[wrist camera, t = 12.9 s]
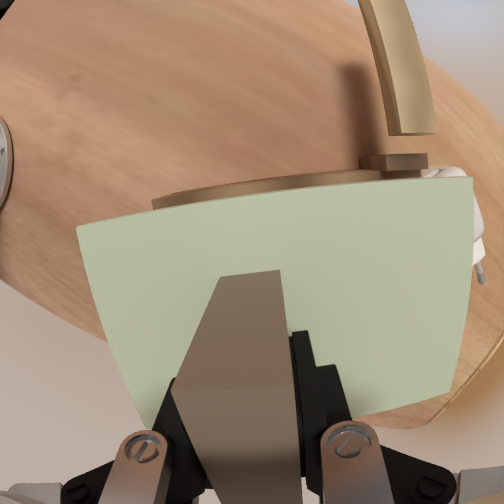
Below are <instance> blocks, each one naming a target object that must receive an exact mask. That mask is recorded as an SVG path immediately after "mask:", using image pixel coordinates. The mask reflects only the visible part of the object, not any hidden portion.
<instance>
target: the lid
mask: <svg viewBox="0 0 504 504" xmlns="http://www.w3.org/2000/svg"><path fill="white" fill-rule="evenodd" d="M76 231H77V236H78V241H79V245H80V249H81V254H82V258H83V262H84V266H85V270H86V273H87V277H88V281H89V284H90V288H91V291H92V295H93V298H94V301H95V305H96V308H97V311H98V314H99V317H100V320H101V323H102V326H103V329H104V332H105V334H106V337H107V340H108V343H109V345H110V348H111V351H112V353H113V356H114V359H115V361H116V364H117V366H118V368H119V371H120V373H121V376H122V378H123V380H124V382H125V385H126V387H127V389H128V392H129V394H130V396H131V398H132V401H133V403H134V405H135V407H136V409H137V411H138V413H139V415H140V417H141V419H142V421H143V423H144V425H145V427H146V428H148V429H152V427H153V425H154V422H155V420H156V417H157V414H158V412H159V409H160V407H161V404H162V402H163V399H164V397H165V394H166V392H167V389H168V387H169V384H170V382H171V380H172V378H174V377H176V379H175V381H174V383H173V386H172V388H171V390H170V391H171V394H172V396H173V399H174V401H175V404H176V407H177V409H178V412H179V414H180V417H181V419H182V421H183V424H184V426H185V429H186V431H187V433H188V436H189V438H190V440H191V443H192V445H193V447H194V449H195V451H196V454H197V456H198V458H199V460H200V462H201V464H202V466H203V468H204V471H205V473H206V475H207V477H208V479H209V481H210V483H211V485H212V487H213V489H214V490H215V492H216V494H217V496H218V498H219V500H220V502H221V504H303V501H302V484H301V469H300V454H299V441H298V428H297V416H296V404H295V393H294V382H293V373H292V364H291V355H290V347H289V338H288V337H289V336H292V332H295V331H303V330H308V332H309V337H310V341H311V346H312V350H313V354H314V359H315V363H316V367H317V366H324V365H330V364H335V365H336V367H337V370H338V373H339V377H340V380H341V383H342V387H343V390H344V393H345V397H346V400H347V404H348V407H349V410H350V414H351V417H352V418H355V417H360V416H364V415H369V414H373V413H378V412H382V411H386V410H390V409H394V408H398V407H402V406H405V405H409V404H412V403H416V402H419V401H422V400H426V399H429V398H432V397H435V396H438V395H441V394H444V393H447V392H449V391H450V388H451V384H452V381H453V377H454V373H455V369H456V365H457V361H458V357H459V352H460V348H461V343H462V338H463V333H464V327H465V322H466V316H467V309H468V302H469V294H470V286H471V276H472V263H473V246H474V192H473V177H465V176H452V177H428V178H409V179H393V180H379V181H367V182H355V183H344V184H333V185H324V186H314V187H305V188H296V189H288V190H280V191H272V192H264V193H256V194H249V195H242V196H235V197H228V198H222V199H215V200H209V201H202V202H196V203H190V204H184V205H178V206H173V207H167V208H161V209H156V210H150V211H145V212H140V213H135V214H130V215H125V216H120V217H115V218H110V219H105V220H100V221H96V222H91V223H87V224H84V225H81V226H78V227H76Z"/></svg>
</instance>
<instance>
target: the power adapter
mask: <svg viewBox="0 0 504 504" xmlns="http://www.w3.org/2000/svg"><path fill="white" fill-rule="evenodd" d="M428 168H429V169H421V174H422V178H428V177H452V176H465V177H467V175H466V174H465V173H464V171H463V170H462V169H461V168H460V167H454V166H441V165H429V166H428ZM484 227H485V226H484V222H483V218H482V215H481V212H480V209H479V206H478V203H477V200H476V197H475V194H474V246H473V263H472V266H473V265H475V268H476V272H477V277H478V281H479V283H480V284H483V283H484V282H485V276H484V272H483V269H482V265H481V259H482V258H483V257H484V256H485V249H484V245H483V242H482V238H481V237H482V236H483V234H484Z"/></svg>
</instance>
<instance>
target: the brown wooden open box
mask: <svg viewBox="0 0 504 504" xmlns="http://www.w3.org/2000/svg"><path fill="white" fill-rule="evenodd" d="M359 161H360V169H355V170H342V171H331V172H320V173H310V174H301V175H292V176H284V177H275V178H267V179H260V180H252V181H245V182H238V183H231V184H225V185H218V186H212V187H206V188H200V189H194V190H188V191H183V192H177V193H173V194H170V195H166V196H163V197H160V198H157V199H154V200H152V205H153V210H156V209H161V208H167V207H173V206H178V205H184V204H190V203H196V202H202V201H209V200H215V199H222V198H228V197H235V196H242V195H249V194H256V193H264V192H272V191H280V190H288V189H296V188H305V187H314V186H324V185H333V184H344V183H355V182H367V181H379V180H393V179H409V178H422V174H421V169H429V168H428V158H427V153H422V154H389V155H373V156H361V157H359Z"/></svg>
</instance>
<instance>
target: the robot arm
mask: <svg viewBox="0 0 504 504" xmlns="http://www.w3.org/2000/svg"><path fill="white" fill-rule="evenodd" d="M11 172H12V144H11V138H10V134H9V131H8V128H7V126H6V124H5V122H4V121H3V120H2V119H1V118H0V207H1V205H2V204H3V202H4V200H5V198H6V195H7V191H8V188H9V184H10V179H11ZM288 338H289V347H290V355H291V364H292V373H293V382H294V393H295V404H296V416H297V428H298V441H299V454H300V469H301V477H306V485H307V489H309V490H310V491H312V492H314V493H315V494H317V495H319V504H504V466H499V467H491V468H481V469H468V470H461V471H460V473H451V472H450V471H449V470H447V469H445V468H443V467H440V466H437V465H434V464H431V463H428V462H425V461H422V460H419V459H417V458H414V457H411V456H408V455H406V454H403V453H400V452H397V451H395V450H392V449H390V448H387V447H385V446H382V445H380V444H379V440H378V437H377V434H376V433H375V431H374V429H373V428H371V427H370V426H369V425H367V424H365V423H363V422H359V421H352V417H351V414H350V410H349V407H348V404H347V400H346V397H345V393H344V390H343V387H342V383H341V380H340V377H339V373H338V370H337V367H336V365H335V364H330V365H324V366H317V367H316V363H315V359H314V354H313V350H312V346H311V341H310V337H309V332H308V330H303V331H295V332H292V336H289V337H288ZM175 379H176V377H174V378H172V380H171V382H170V384H169V387H168V389H167V392H166V394H165V397H164V399H163V402H162V404H161V407H160V409H159V412H158V414H157V417H156V420H155V422H154V425H153V427H152V430H145V431H139V432H135V433H133V434H131V435H129V436H128V437H127V438H126V439H124V440H123V442H122V444H121V445H120V448H119V450H118V453H117V455H116V458H115V460H113V461H111V462H109V463H107V464H104V465H102V466H100V467H98V468H96V469H93V470H91V471H89V472H86V473H85V474H82V475H79V476H77V477H75V478H73V479H71V480H69V481H68V482H67V483H66V484H65V485H62V484H61V483H38V484H37V483H36V484H35V483H34V484H27V483H26V484H25V483H24V484H23V483H20V484H15V485H13V486H12V487H11V488H10V489H9V490H8V491H0V504H198V503H199V495H200V494H202V493H204V491H205V489H213V487H212V485H211V483H210V481H209V479H208V477H207V475H206V473H205V471H204V468H203V466H202V464H201V462H200V460H199V458H198V456H197V454H196V451H195V449H194V447H193V445H192V443H191V440H190V438H189V436H188V433H187V431H186V429H185V426H184V424H183V421H182V419H181V417H180V414H179V412H178V409H177V407H176V404H175V401H174V399H173V396H172V394H171V391H170V390H171V388H172V386H173V383H174V381H175Z"/></svg>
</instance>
